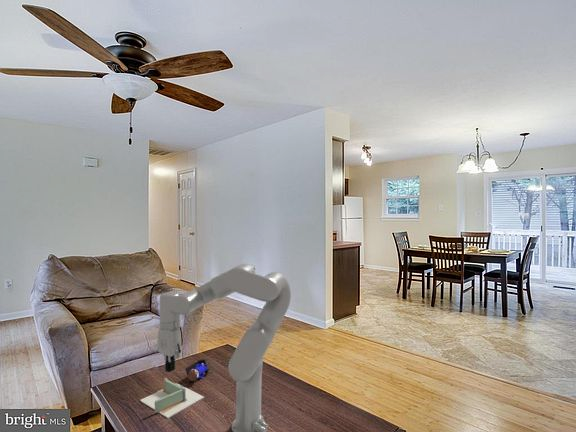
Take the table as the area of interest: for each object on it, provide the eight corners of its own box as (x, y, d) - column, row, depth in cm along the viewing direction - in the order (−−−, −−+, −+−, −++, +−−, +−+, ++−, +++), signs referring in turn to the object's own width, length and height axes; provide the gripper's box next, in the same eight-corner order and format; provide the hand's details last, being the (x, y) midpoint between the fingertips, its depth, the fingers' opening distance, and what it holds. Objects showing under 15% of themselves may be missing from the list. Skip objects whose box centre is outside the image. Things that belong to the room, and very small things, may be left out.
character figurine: (213, 373, 166) (193, 387, 152) (202, 369, 169) (181, 382, 156) (214, 358, 166) (194, 371, 152) (203, 354, 169) (182, 366, 155)
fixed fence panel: (183, 398, 142) (183, 386, 142) (180, 400, 141) (180, 388, 140) (165, 388, 149) (165, 377, 149) (162, 390, 148) (162, 379, 148)
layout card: (204, 397, 143) (204, 396, 143) (167, 418, 129) (167, 417, 129) (176, 383, 155) (176, 382, 155) (140, 401, 140) (140, 399, 140)
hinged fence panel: (184, 398, 142) (184, 387, 141) (186, 399, 140) (186, 389, 140) (154, 411, 132) (154, 400, 132) (156, 413, 131) (156, 402, 131)
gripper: (150, 323, 131) (150, 369, 131) (173, 330, 122) (173, 380, 122) (167, 318, 137) (167, 362, 137) (189, 325, 128) (190, 372, 128)
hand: (170, 370), depth 129 cm, fingers closed
